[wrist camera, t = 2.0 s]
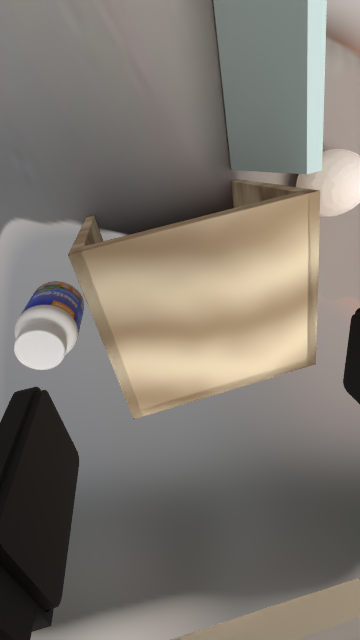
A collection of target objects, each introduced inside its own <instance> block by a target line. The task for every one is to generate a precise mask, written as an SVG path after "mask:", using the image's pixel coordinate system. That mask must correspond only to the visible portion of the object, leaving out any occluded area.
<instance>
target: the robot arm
mask: <svg viewBox="0 0 360 640" xmlns="http://www.w3.org/2000/svg"><path fill="white" fill-rule="evenodd" d="M343 383H344V387H345V389H346V391H347V392H348V393H349V394H350V395H351V396H352V397H353V398H354V399H355V400H356V401H357V402H358V403H359V404H360V308H359V309H357V311H356V312H355V314H354V315H353V316H352V318H351V325H350V332H349V340H348V348H347V356H346V363H345V371H344V379H343ZM78 468H79V456H78V452H77V450H76V448H75V446H74V444H73V442H72V440H71V438H70V436H69V434H68V432H67V430H66V428H65V426H64V424H63V422H62V420H61V418H60V416H59V414H58V412H57V410H56V407H55V405H54V403H53V401H52V400H51V397H50V396H49V393H48V392H47V391H46V390H43V391H41V390H40V389H39V388H38V387H33V388H29V389H25V390H21V391H17V392H15V393H14V394H13V396H12V398H11V400H10V402H9V405H8V407H7V409H6V411H5V413H4V416H3V418H2V420H1V422H0V640H30V637H31V632H32V631H36V630H39V629H42V628H45V627H49V626H51V622H52V616H53V609H54V608H55V607H58V605H59V604H60V601H61V598H62V591H63V584H64V576H65V568H66V560H67V553H68V545H69V538H70V530H71V522H72V515H73V506H74V499H75V491H76V483H77V476H78ZM172 640H360V578H358V579H355V580H352V581H349V582H346V583H343V584H340V585H336V586H333V587H330V588H327V589H324V590H321V591H318V592H315V593H312V594H309V595H306V596H302V597H299V598H296V599H293V600H290V601H287V602H284V603H281V604H278V605H275V606H272V607H269V608H266V609H263V610H259V611H256V612H253V613H250V614H248V615H245V616H241V617H238V618H235V619H232V620H230V621H226V622H223V623H220V624H217V625H214V626H211V627H208V628H205V629H202V630H199V631H196V632H193V633H190V634H187V635H184V636H181V637H178V638H175V639H172Z"/></svg>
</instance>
